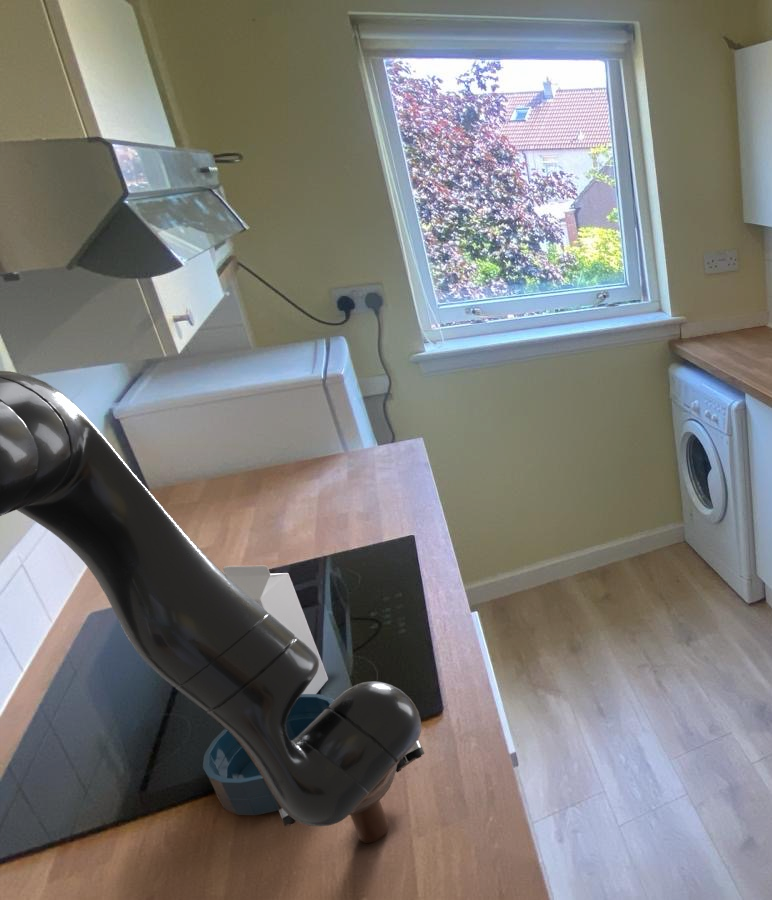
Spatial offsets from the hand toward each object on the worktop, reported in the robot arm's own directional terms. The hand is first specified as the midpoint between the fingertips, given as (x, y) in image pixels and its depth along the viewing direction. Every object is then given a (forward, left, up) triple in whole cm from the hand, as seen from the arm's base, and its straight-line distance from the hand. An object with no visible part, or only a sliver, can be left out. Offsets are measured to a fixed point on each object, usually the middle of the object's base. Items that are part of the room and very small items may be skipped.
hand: (355, 784), depth 83 cm
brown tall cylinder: (-1, -2, -6) cm, 6 cm away
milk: (+12, +28, -6) cm, 31 cm away
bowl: (+2, +16, -6) cm, 18 cm away
